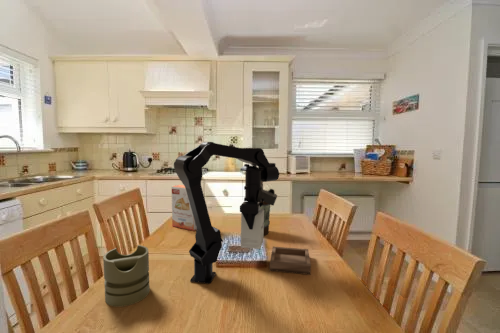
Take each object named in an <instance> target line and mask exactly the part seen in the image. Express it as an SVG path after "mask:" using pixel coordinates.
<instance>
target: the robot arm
mask: <svg viewBox="0 0 500 333" xmlns="http://www.w3.org/2000/svg"><path fill="white" fill-rule="evenodd" d="M212 156H217V157H224V158H230V159H236V160H238V161H240V162H242V163H245V164H244V165H243V166H241V167H240V171H241V172H245V174H244V175H245V176H244V178H245V181H244V182H245V183H244V184H245V186H244V187H243V189H244V193H245V194H244V198H243V202H242V203H241V204H240V205H239V213H242V214H243V216H244V218H245V220H246V222H247V225H248V227H249V229H251V230H252V229H253V225H254V220H255V216H256V215H257V214H258V213H259V210H260V207H261V206H262V205H263V203H260V202H261V201H262V202H266V203H269V204H270V206H274V205H275V203H276V201H277V198H278V195H277V193H275V191H276V190H275V189H273V188H270V189H269V190H265V189H264V185H263V186H262V185H261V181H262V182H263V183H267V182H274V181H275V182H276V181H278V179H279V177H280V172H279V168H278V167H277V166H276V165H277V164H276V163H275V162H269V160H268V158H267V156H266V154H265V152H264V149H262V148H260V147H237V146H231V145H225V144H221V143H216V142H214V141H203V142H201V143H200V144H199V145H198V146H196V147H194V148H193V149H191V150H189V151H188V152H186V153H185V154H184V155H179V156H178V157H177V158H176V159H175V161H174V163H173V168H174V171H175V173H176V175H177V176H178V179H179V181H180V182H181V183H182V185H184V186H185V188H186V192H187V195H188V199H189V202H190V206H191V209H192V213H193V217H194V220H195V224H196V227H197V229H196V230H195V235H194V236H195V238H194V239H195V242H194V243H193V245H192V246H191V247H190V249H189V250H188V254H189V255H190V257H192V258H193V272H194V273H193V276H192V277H191V278H190V280H189V282H191V283H198V284H207V285H210V284H211V283H212V282H213V280H214V278H215V276H216V274H217V272H216V271H213V266H214V265H213V264H214V263H217V262H218V258H219V255H220V252H221V249H222V248H223V243H222V242H224V240H223V239H222V238H223V237H222V233H221V230H220V229H219V228H216V227H214V226H213V225H212V221H211V219H210V215H209V210H208V206H207V202H206V199H205V195H204V192H203V188H202V178H203V167H204V166H206V164H208V162H209V161H210V159H211V158H212Z"/></svg>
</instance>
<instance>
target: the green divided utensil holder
mask: <svg viewBox="0 0 500 333" xmlns="http://www.w3.org/2000/svg"><path fill="white" fill-rule="evenodd" d="M149 254H150V253H149V248H148V247H147V246H145V245H141V244H137V248H136V249H135V251H133V252H132V253H129V254H123V253H120V252H118V249H117V247H115V248H113V249H110V250H108V251H107V252H106V253H104V255H103V257H102V259H103V278H104V283H103V284H104V302H105V303H106V305H108V306H110V307H115V308H116V307H117V308H118V307H120V308H122V307H126V306H131V305H134V304H136V303H138V302H141V301H143V299H144V300H145V298H147V296H148V295H149V293H150V272H149V271H150V258H149V256H150V255H149Z"/></svg>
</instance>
